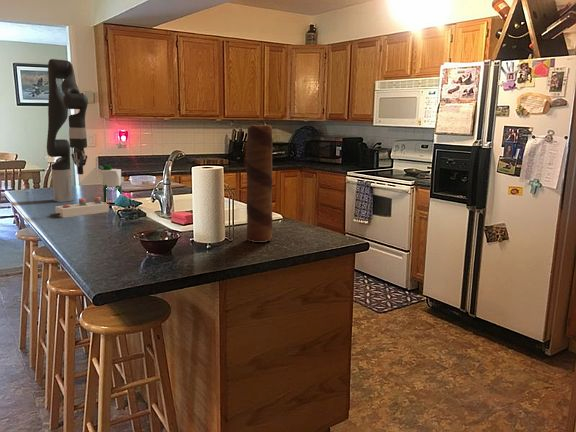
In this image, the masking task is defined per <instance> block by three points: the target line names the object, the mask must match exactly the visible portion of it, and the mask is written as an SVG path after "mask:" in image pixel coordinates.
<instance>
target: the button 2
mask: <svg viewBox="0 0 576 432" xmlns="http://www.w3.org/2000/svg"><path fill="white" fill-rule="evenodd" d="M86 203H87V200H86V198H78V204H79V205H85V204H86Z"/></svg>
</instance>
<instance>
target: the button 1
mask: <svg viewBox="0 0 576 432" xmlns="http://www.w3.org/2000/svg"><path fill="white" fill-rule="evenodd" d="M70 205H71V204H67V203H66V204H65V203H64V204H63V205H62V206H63V208H69V207H70Z"/></svg>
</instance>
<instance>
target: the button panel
mask: <svg viewBox="0 0 576 432" xmlns="http://www.w3.org/2000/svg"><path fill="white" fill-rule="evenodd" d="M54 210H55V212H54V213H50V214H49V216H50V217H60V218H72V217H73V218H74V217H81V216H86V215H87V216H88V215H93V214H94V215H96V214H103V213H108V212H109V213H110V204H107V203H106V202H104V201H101V203H94V201H93V202H86V204H85V205H79V203H74V204H70V207H69V208H63V205H58V206H57V205H55V208H54Z"/></svg>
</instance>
